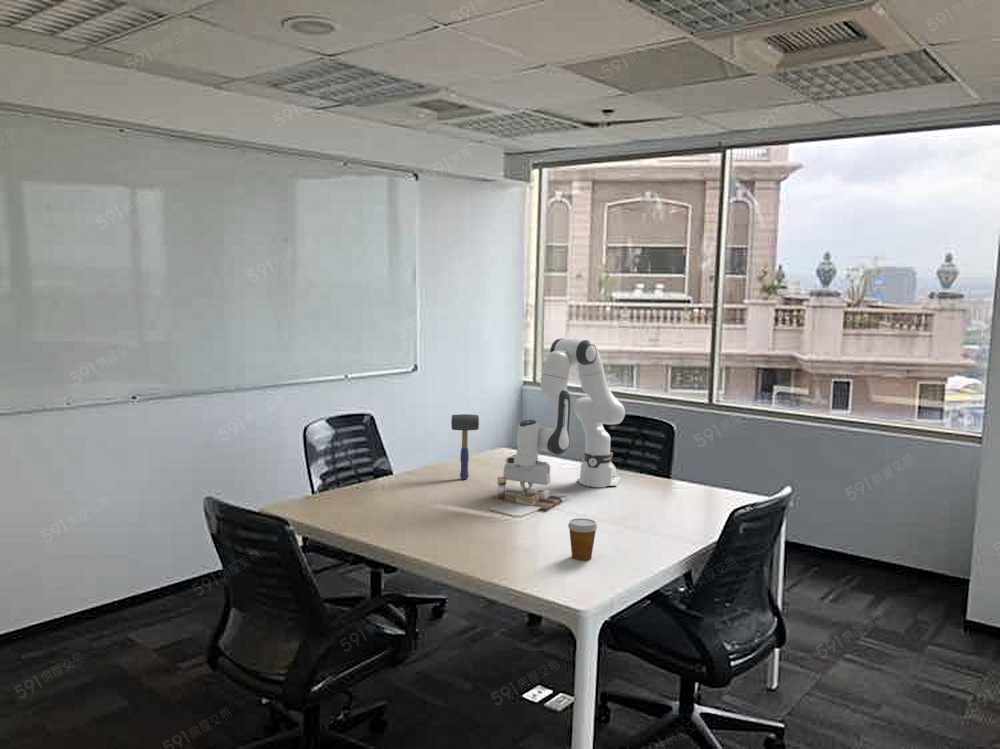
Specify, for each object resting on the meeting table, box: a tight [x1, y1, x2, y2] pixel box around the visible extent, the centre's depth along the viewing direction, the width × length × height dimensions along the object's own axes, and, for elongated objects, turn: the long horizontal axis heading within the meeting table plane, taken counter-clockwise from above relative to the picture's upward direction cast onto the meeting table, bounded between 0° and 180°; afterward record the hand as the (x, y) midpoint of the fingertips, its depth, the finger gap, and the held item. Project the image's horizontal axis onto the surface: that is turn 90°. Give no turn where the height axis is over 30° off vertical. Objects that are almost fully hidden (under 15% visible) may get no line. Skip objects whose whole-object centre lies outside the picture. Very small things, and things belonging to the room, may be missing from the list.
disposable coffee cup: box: [567, 517, 598, 562], centre depth 261 cm, size 10×10×12 cm
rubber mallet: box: [451, 413, 480, 480], centre depth 363 cm, size 12×8×30 cm, turn 95°
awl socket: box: [515, 492, 540, 506], centre depth 322 cm, size 7×7×3 cm
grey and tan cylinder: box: [496, 476, 507, 499], centre depth 328 cm, size 4×4×8 cm
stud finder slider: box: [527, 487, 551, 499], centre depth 329 cm, size 5×8×3 cm, turn 62°
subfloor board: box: [488, 488, 563, 513], centre depth 328 cm, size 16×26×2 cm, turn 62°
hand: (526, 492), depth 332 cm, fingers closed
